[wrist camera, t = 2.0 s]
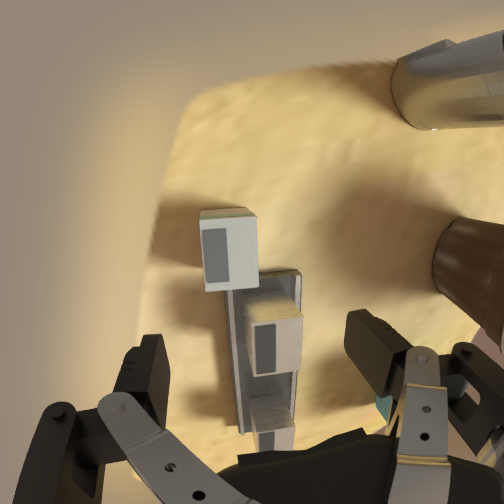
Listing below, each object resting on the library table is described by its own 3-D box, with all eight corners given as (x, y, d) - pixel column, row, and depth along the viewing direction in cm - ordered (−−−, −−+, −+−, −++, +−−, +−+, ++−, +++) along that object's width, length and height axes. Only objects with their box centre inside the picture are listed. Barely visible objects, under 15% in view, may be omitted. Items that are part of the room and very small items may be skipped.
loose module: (200, 210, 28) (198, 220, 22) (246, 206, 28) (257, 216, 22) (205, 268, 29) (205, 292, 24) (249, 265, 30) (259, 288, 24)
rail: (223, 276, 30) (229, 310, 23) (297, 269, 31) (324, 299, 24) (237, 426, 37) (245, 466, 29) (290, 418, 38) (304, 455, 30)
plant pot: (411, 316, 36) (485, 377, 21) (424, 204, 31) (526, 232, 16) (475, 296, 38) (539, 335, 23) (488, 203, 34) (565, 225, 18)
